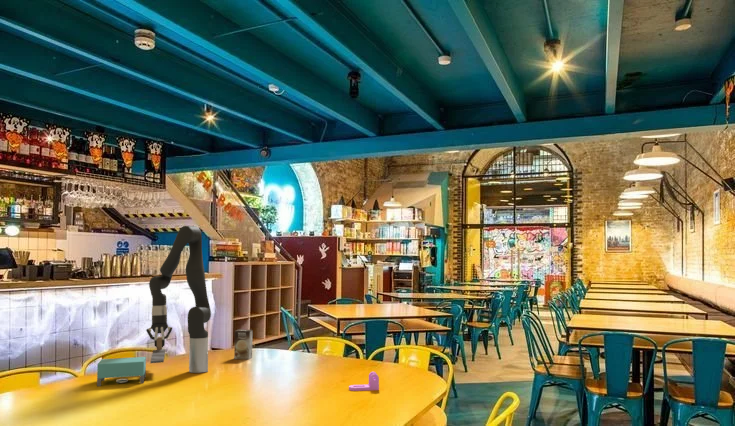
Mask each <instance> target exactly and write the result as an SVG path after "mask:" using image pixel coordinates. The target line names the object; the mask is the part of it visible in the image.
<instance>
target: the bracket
mask: <svg viewBox="0 0 735 426" xmlns="http://www.w3.org/2000/svg"><path fill="white" fill-rule="evenodd" d="M379 378H380V377H379V375H378V374H377V373H376V371H371V372H369V374H368V384H351V385H349V386H348V390H349V391H351V392H353V391H354V392H356V391H357V392H360V391H379V390H380V382H379V381H380V379H379Z"/></svg>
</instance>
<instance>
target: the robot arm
mask: <svg viewBox="0 0 735 426" xmlns="http://www.w3.org/2000/svg"><path fill="white" fill-rule="evenodd" d="M187 245H188V248H189V254H188V255H189V256H188V258H187V262H186V266H185V274H186V275H185V276H186V281H187V282H186V283H187V285H188V287H189V289H190V291H191V293H192V294H193V297H194V304H195V306H192V307H191V308H189V310H188V313H187V332H188V335H189V346H188V347H189V349H188V350H189V352H188V354H189V355H188V372H189V373H192V374H193V373H194V374H201V373H208V372H209V331H208V330H206V329H205V324H206V323H208V322H209V321H210V320H211V317H212V311H211V305H210V303H209V297H208V291H207V284H206V274H205V265H204V260H203V259H204V257H203V248H202V247H203V239H202V231H201V229H200V227H198V226H197V225H196V226H195V225H184V226H182V227H180V229H179V230H178V232H177V234H176V237H175V239H174V241H173V243H172V246H171V248H170V251H169V253H168V255H167V256H166V257H165V258H166V259H165V260H164V262H163V263H162V265H161V267H160V268H159V271H160V273H161V274H160V275H156V276H152V277H151V278H150V280H149V282H148V283H149V285H148V286H149V289H150V290H149V291H150V296H151V298H152V301H151V303H152V304H151V305H152V307H151V325H150V327H149V328H147V329H146V330H145V331H146V333H147V335H148V337H149V338H150V340H153V341H154V347H155V348H157V337H158V336H159V335H158V334H161V336H162V348H164V346H165V345H166V343H165V340H166V339H168V338H169V336H170V335H171V333H172V330H173V326H169V325H168V307H167V295H166V294H165V293H163V292H162V290H164V289H167V288H168V286H170V284H171V281H172V278H173V275H174V272H175V271H176V270H177V268H178V266H179V265H180V263H181V256H182V252H183V250H184V248H185V247H186V246H187ZM152 331H153V332H154V336H153V334H152ZM166 331H168V332H167V334H166V335H165V333H166Z"/></svg>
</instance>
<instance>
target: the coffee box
mask: <svg viewBox="0 0 735 426" xmlns="http://www.w3.org/2000/svg"><path fill="white" fill-rule="evenodd" d="M252 358H253V329H241V328H240V329H236V330H234V357H233V359H234V360H250V359H252Z"/></svg>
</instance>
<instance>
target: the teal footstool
mask: <svg viewBox="0 0 735 426" xmlns="http://www.w3.org/2000/svg"><path fill="white" fill-rule="evenodd" d="M146 364H147V356H138V357H135V356H134V357H120V358H119V357H118V358H102V359H100V361H99V362H98V363H97V368H96V369H97V371H96V374H97V375H96V377H97V378H96V386H97V387H101V386H102V382H104V381H105V380H106V379H108V378H109V379H111V378H125V377H127V378H128V377H139V384H144V383H145V381H144V380H145V379H146V377H147V376H146V373H147V372H146V371H147V370H146V369H147V368H146V367H147V366H146Z"/></svg>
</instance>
